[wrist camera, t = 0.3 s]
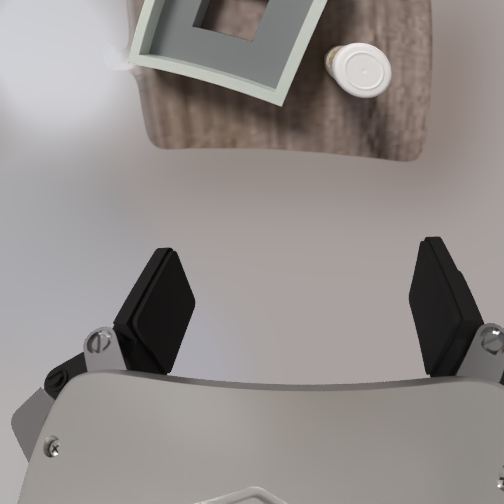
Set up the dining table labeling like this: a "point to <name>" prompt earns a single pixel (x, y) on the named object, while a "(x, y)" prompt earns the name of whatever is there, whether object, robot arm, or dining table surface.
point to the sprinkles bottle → (359, 69)
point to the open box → (227, 45)
